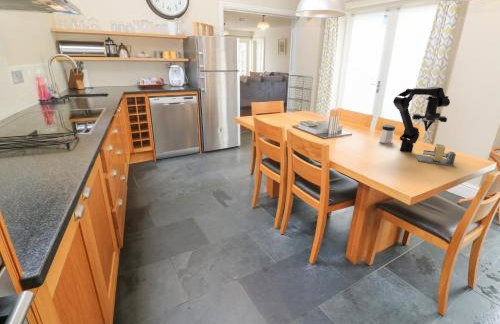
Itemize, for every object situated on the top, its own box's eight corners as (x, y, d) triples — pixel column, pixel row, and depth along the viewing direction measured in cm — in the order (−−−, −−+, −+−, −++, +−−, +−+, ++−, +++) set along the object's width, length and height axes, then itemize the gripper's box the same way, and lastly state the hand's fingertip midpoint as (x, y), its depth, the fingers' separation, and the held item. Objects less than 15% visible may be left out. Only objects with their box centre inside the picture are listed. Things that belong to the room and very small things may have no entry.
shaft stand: (417, 161, 165) (420, 151, 162) (416, 156, 173) (418, 146, 171) (453, 166, 158) (456, 155, 155) (450, 160, 166) (453, 150, 164)
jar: (394, 142, 200) (398, 126, 196) (387, 144, 197) (390, 127, 192) (384, 139, 207) (387, 124, 203) (376, 140, 204) (379, 125, 200)
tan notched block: (433, 160, 163) (437, 146, 160) (432, 157, 168) (435, 143, 165) (441, 161, 161) (445, 147, 158) (439, 158, 166) (443, 144, 163)
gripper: (416, 107, 173) (410, 131, 179) (451, 110, 166) (444, 135, 172) (414, 105, 183) (409, 128, 188) (448, 107, 175) (441, 131, 181)
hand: (425, 130), depth 182 cm, fingers closed
